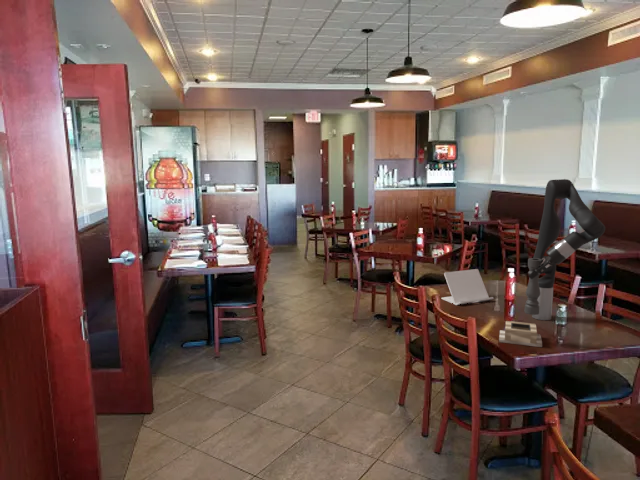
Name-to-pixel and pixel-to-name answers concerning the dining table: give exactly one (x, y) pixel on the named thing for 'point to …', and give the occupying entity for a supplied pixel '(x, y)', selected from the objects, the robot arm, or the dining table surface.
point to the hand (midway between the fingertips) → (529, 275)
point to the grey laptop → (466, 287)
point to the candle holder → (533, 289)
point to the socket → (520, 334)
